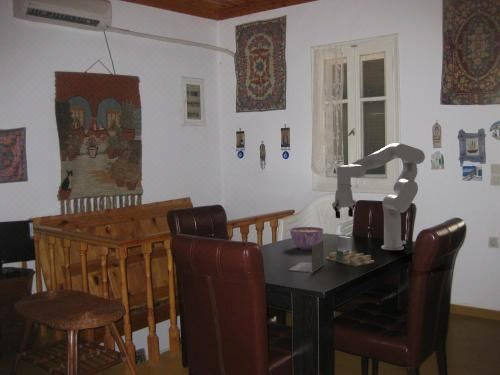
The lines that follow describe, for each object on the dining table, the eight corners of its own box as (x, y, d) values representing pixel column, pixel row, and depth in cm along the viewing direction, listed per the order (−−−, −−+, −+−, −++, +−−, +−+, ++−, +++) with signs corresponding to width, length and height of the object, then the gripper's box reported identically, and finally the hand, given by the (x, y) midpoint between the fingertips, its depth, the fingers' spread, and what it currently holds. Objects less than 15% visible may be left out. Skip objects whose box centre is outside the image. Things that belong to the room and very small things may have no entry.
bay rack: (345, 255, 281) (345, 244, 280) (374, 262, 262) (374, 251, 262) (325, 258, 274) (325, 247, 273) (354, 266, 255) (354, 254, 254)
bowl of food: (313, 253, 289) (312, 233, 289) (283, 249, 302) (283, 230, 301) (329, 247, 305) (329, 228, 304) (301, 244, 317) (301, 226, 317)
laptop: (300, 263, 265) (300, 238, 264) (323, 265, 260) (323, 240, 259) (288, 271, 249) (287, 244, 248) (312, 273, 243) (312, 246, 242)
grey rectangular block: (341, 251, 294) (341, 235, 293) (351, 253, 287) (351, 237, 287) (337, 251, 293) (337, 236, 292) (347, 253, 286) (347, 238, 285)
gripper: (350, 186, 295) (351, 215, 296) (327, 187, 286) (328, 218, 287) (359, 186, 289) (360, 216, 290) (336, 188, 279) (337, 219, 281)
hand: (344, 217), depth 288 cm, fingers open, 9 cm apart
